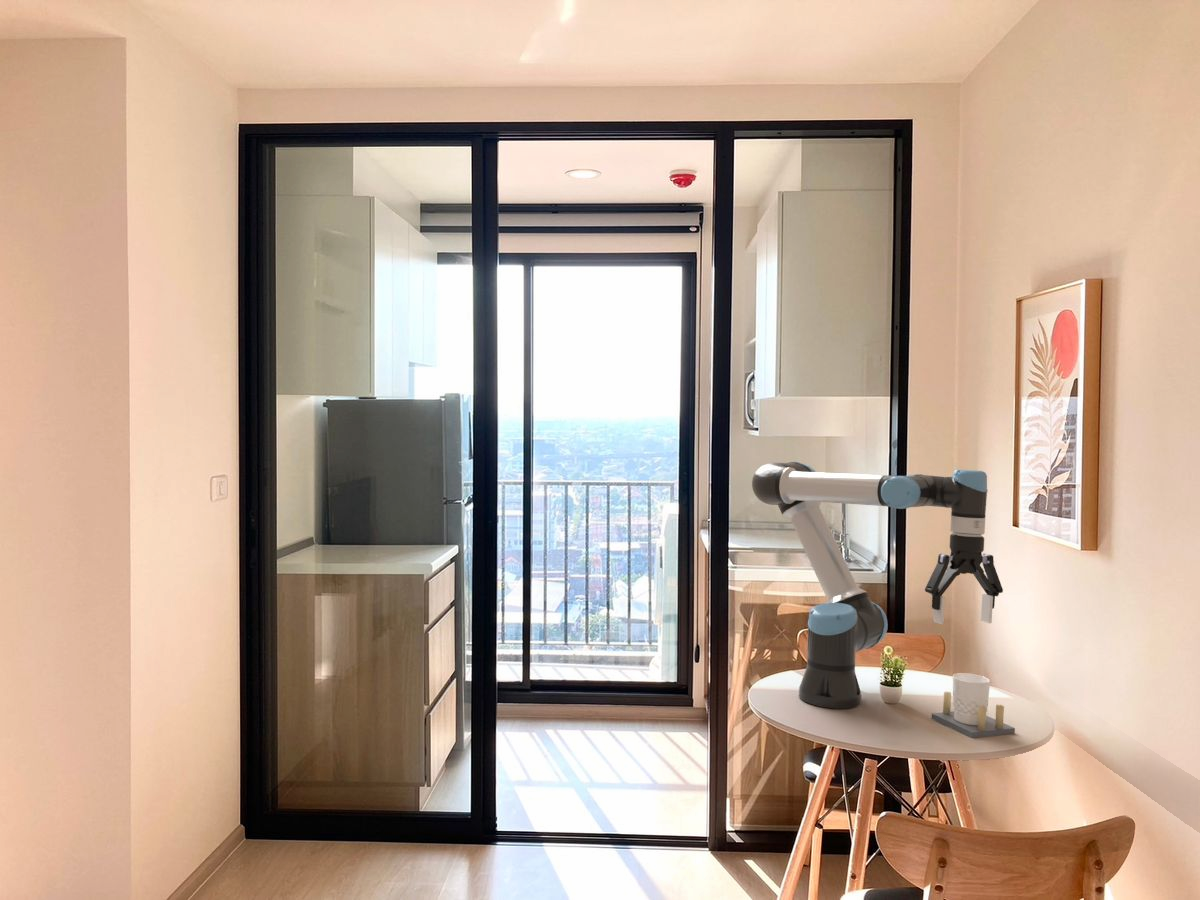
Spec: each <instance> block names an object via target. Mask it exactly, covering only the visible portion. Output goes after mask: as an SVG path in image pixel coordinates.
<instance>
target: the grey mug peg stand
mask: <svg viewBox="0 0 1200 900" xmlns="http://www.w3.org/2000/svg"><path fill="white" fill-rule="evenodd" d="M951 706H952V692H950V691H943V707H942V708H943V710H942V711H941V712H934V713H933V712H931V719H932V720H933V721H936V722H938V723H940V724H943V725H945V726H947V727H948V728H951V729H952V730H955V731H956V732H959V733H961V734H963V735H965V736H967V737H969V738H973V739H974V738H975V739H976V738H982V737H983V738H985V737H992V736H993V737H995V736H1001V735H1010V734H1012V735H1013V734H1016V733H1015V732H1016V728H1015V727H1014V726H1011V725H1010V724H1007V723H1004V717H1005V716H1004V715H1005V714H1004V713H1005V706H1004V705H1002V704H996V706H995V718H992V717H991V716H988V715H987V713H986V707H982V706H979V707H978V725H968V724H964V723H960V722H958V721H956V720H955V719H954V710H953V711H951V709H952V708H951Z"/></svg>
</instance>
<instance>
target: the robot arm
mask: <svg viewBox="0 0 1200 900" xmlns="http://www.w3.org/2000/svg"><path fill="white" fill-rule="evenodd" d="M751 480H752V481H751V487H752V491H753V493H754V495H755V496H756V498H757V499H758V500H759V501H761V502H762V503H764V504H765V505H770V506H771V505H772V506H777V507H778V508H779V510H780V513H781V514H782V517H784V518H785V519H788V520H790V522H791V523H792V526H793V528H794V530H795V532H796V536H798V539H799V541H800V543H801V545H802V547H803V549H804V552H805V554H806V556H807V559H808V560H809V562H810V565H811V566H812V568H813V569H812V570H813V572H814V574H815V575H816V578H817V581H818V582H819V583H820V587H821V588H822V591H823V593H824V595H825V597H826V599H827V600H826V603H820V604H819V603H818V604H816V605H814V606H813V607H812V608H810V610H809V613H808V620H807V655H806V656H807V657H806V658H807V659H806V660H807V662H806V669H805V671H804V674H803V677H802V679H801V682H800V684H799V687H798V697H799V698H800V700H801V701H804V702H805V703H807V704H810V705H813V706H817V707H822V708H827V709H837V710H838V709H839V710H840V709H853V708H857V707H859V706H860V705H861V704H862V692H861V689H860V685H859V681H858V678H857V675H856V653H857V652H861V651H864V650H869V649H871V648H874V647H875V646H876V645H878V644H880V643H881V642H882V641H883V639H884V638H885V637H886V635H887V632H888V626H889V625H888V618H887V615H886V612H885V611H884V610H883V607H881V606H880V605H878V604H876V603H875V602H873V601H871V598H870V597H869V595H868V592H867V591H866V590H864V589H862V588H859V586H857V582H856V581H855V579H854V577H853V575H852V572H851V571H850V568H849V566H848V564H847V562H846V560H845V558H844V556H843V554H842V552H841V550H840V548H839V546H838V543H837V541H836V539H835V536H834V534H833V532H832V530H831V529H830V526H829V524H828V523H827V520H826V518H825V516H824V513H823V512H822V510H821V508H820V505H821V504H822V503H829V504H830V503H831V504H849V505H861V506H878V507H879V506H880V507H887V508H889V507H890V508H894V509H899V510H903V509H909V508H920V507H938V508H940V507H941V508H947V509H951V512H950V514H951V515H950V526H949V527H950V529H949V530H950V532H951V534H950V535H949V549H950V554H949V555H948V554H944V553H939V554H938V556H937V563H936V565H935V567H934V569H933V571H932V573H931V574H930V575H931V576H930V577H929V580H928V582H927V584H926V586H925V588H924V591H925V592H926V593H928V594H930V595H931V608H932V609H933V617H932V618H933V619H932V620H933V622H934V623H936V624H939V625H944V620H945V619H944V617H945V603H946V602H945V601H946V599H945V598H946V596H943V594H944V593H945V592H946V591H947V589H948V588H949V587H950V585H951V584H952V583H953V582H954V580H955V579H956V578H957V577H958V576H960V575H961V574H964V575H966V574H970V575H971V574H972V575H973V576H974V577H975V579H976V581H977V582H978V583H979V585H980V586H981V588H982V590H983V591H984V592H985V593H981V594H982V595H981V596H982V597H981V611H980V613H981V616H980V621H982V622H984V623H988V624H992V621H993V609H994V608H995V606H996V605H995V603H996V600H995V599H996V597H999V596H1000V594H1001V593H1003V591H1004V589H1003V586H1002V584H1001V580H1000V578H999V575H998V573H997V570H996V567H995V564H994V563H995V561H994V556H993V555H991V554H988V553H983V552H984V550H985V538H984V536H982V535H984V534H985V529H986V511H987V510H986V509H987V497H988V475H987V473H986V472H985V471H983V470H973V469H954V470H953V474H952V476H937V475H927V474H917V473H916V474H907V475H884V474H864V473H863V474H862V473H861V474H860V473H843V472H842V473H840V472H839V473H837V472H819V471H818V472H817V471H816V470H815V469H814V468H812V467H811V466H810V465H807V464H806V463H803V462H802V463H801V462H798V461H790V462H768V463H765V464H763V465H761V466H759V468H758V469H756V470H755V472H754V474H753V477H752V479H751ZM981 564H982V566H981ZM982 567H983V568H982Z"/></svg>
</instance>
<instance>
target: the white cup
mask: <svg viewBox="0 0 1200 900" xmlns="http://www.w3.org/2000/svg"><path fill="white" fill-rule="evenodd" d="M990 684H991V679H989V678H988V677H986V676H983V675H980V674H974V673H968V672H960V673H954V674H952V699H953V700H952V702H953V703H952V705H953V706H952V707H953V711H954V719H955V720H956V721H958V722H960V723H964V724H968V725H978V707H979V706H982V707H986V714H987V713H988V706H989V696H990V687H991V685H990Z"/></svg>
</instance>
